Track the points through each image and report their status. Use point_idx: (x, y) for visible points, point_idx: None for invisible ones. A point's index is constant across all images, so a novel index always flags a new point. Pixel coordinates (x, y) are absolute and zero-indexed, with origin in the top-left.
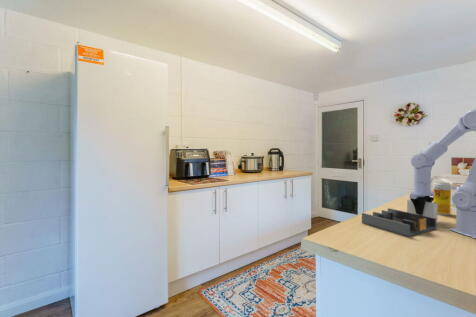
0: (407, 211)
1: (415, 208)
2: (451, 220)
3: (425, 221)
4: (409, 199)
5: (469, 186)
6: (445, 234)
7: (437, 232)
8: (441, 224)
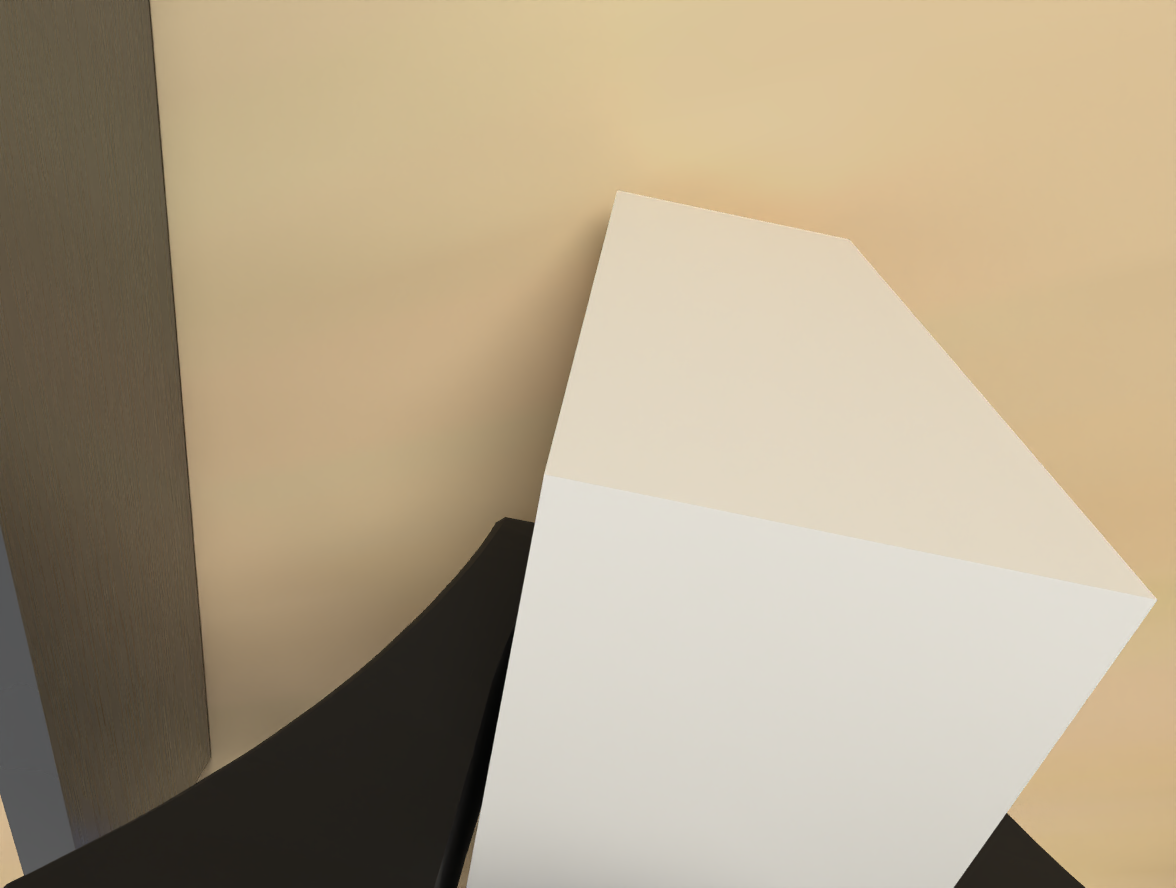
0: (606, 235)
1: (426, 622)
2: (1065, 832)
3: None
4: (845, 556)
5: None
6: None
7: None
8: None
